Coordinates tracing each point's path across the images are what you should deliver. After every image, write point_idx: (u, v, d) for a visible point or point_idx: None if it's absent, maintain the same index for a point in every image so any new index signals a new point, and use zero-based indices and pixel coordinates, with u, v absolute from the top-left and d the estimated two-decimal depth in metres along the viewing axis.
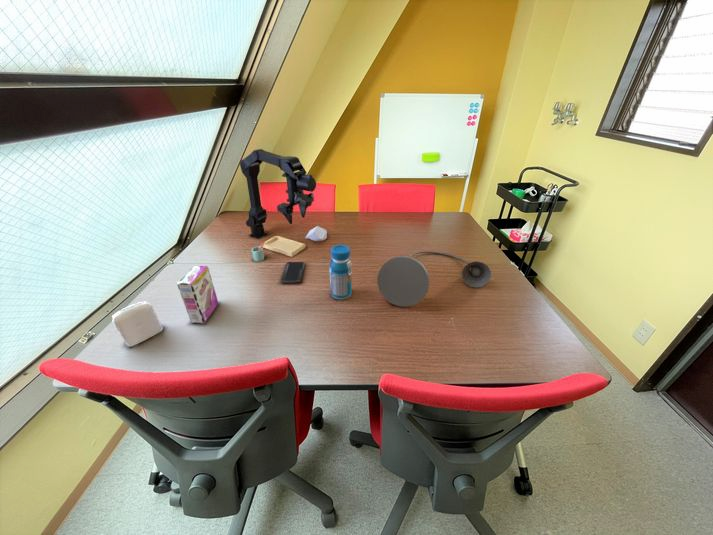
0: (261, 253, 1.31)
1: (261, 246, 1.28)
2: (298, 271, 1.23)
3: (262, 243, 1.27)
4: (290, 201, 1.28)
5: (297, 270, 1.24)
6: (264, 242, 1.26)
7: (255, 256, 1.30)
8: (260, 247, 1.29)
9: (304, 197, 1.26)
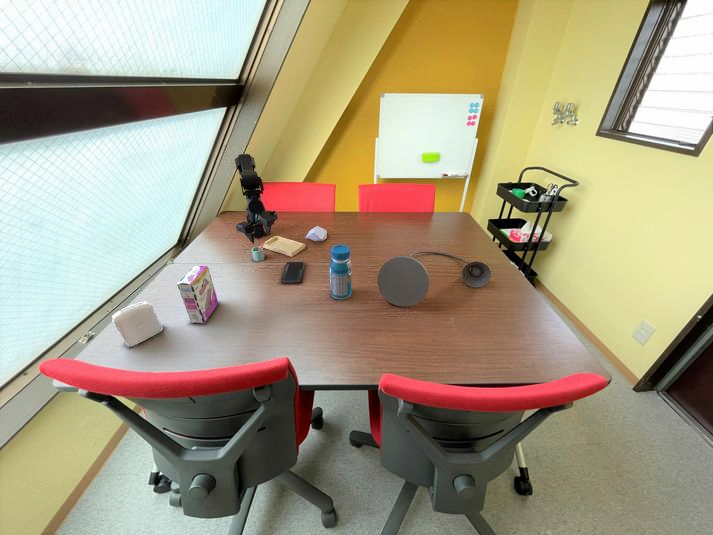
0: (261, 253, 1.31)
1: (261, 246, 1.28)
2: (298, 271, 1.23)
3: (262, 243, 1.27)
4: (251, 219, 1.19)
5: (297, 270, 1.24)
6: (264, 242, 1.26)
7: (255, 256, 1.30)
8: (260, 247, 1.29)
9: (265, 215, 1.18)
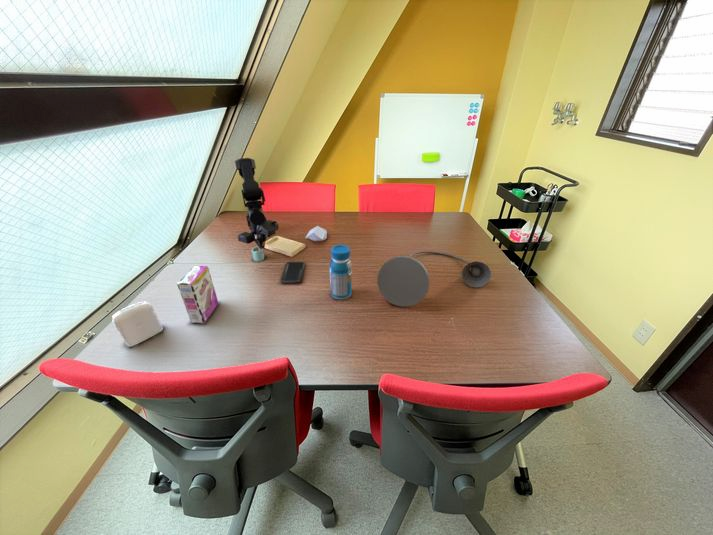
0: (261, 253, 1.31)
1: None
2: (298, 271, 1.23)
3: (262, 243, 1.27)
4: (253, 230, 1.22)
5: (297, 270, 1.24)
6: (264, 242, 1.27)
7: (255, 256, 1.30)
8: None
9: (267, 226, 1.20)
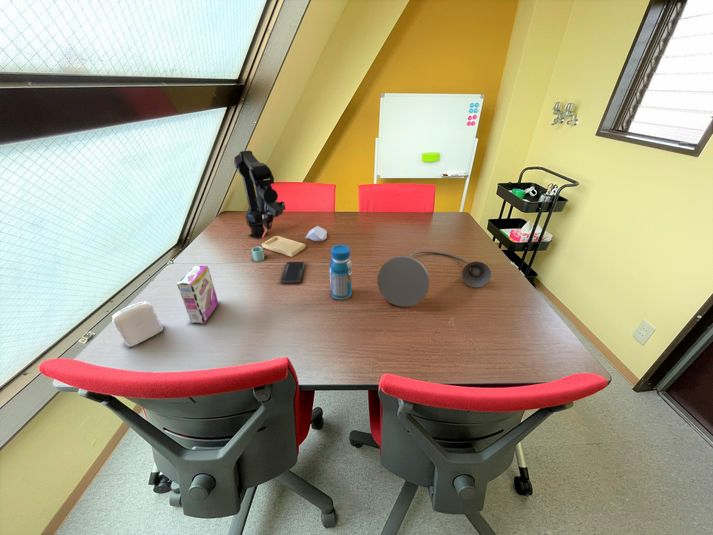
0: (261, 253, 1.31)
1: None
2: (298, 271, 1.23)
3: (269, 224, 1.29)
4: (260, 209, 1.24)
5: (297, 270, 1.24)
6: (271, 222, 1.28)
7: (255, 256, 1.30)
8: None
9: (274, 206, 1.22)
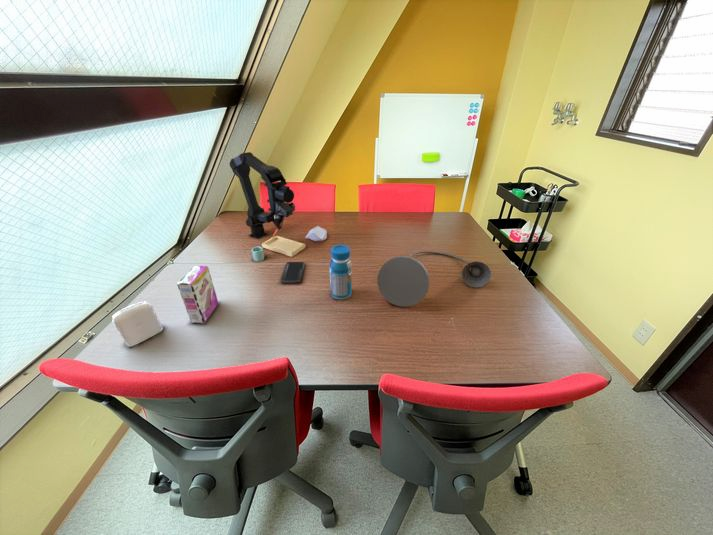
0: (261, 253, 1.31)
1: None
2: (298, 271, 1.23)
3: (280, 223, 1.36)
4: (271, 210, 1.31)
5: (297, 270, 1.24)
6: None
7: (255, 256, 1.30)
8: None
9: (285, 206, 1.29)
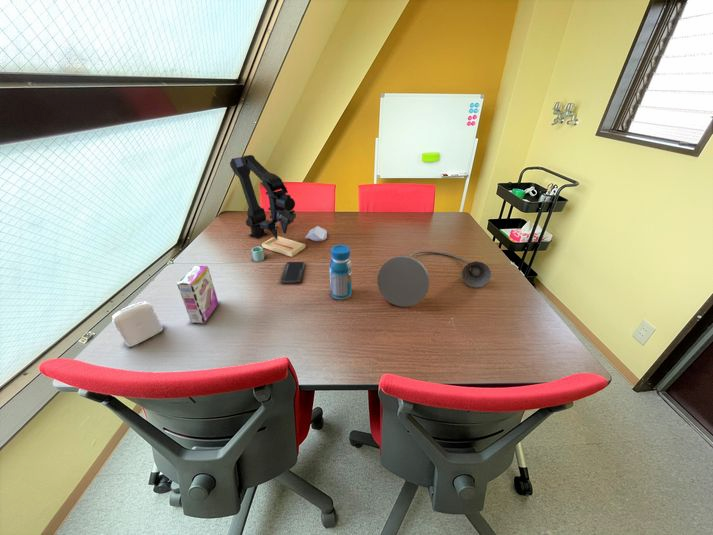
0: (261, 253, 1.31)
1: (287, 247, 1.41)
2: (298, 271, 1.23)
3: (290, 247, 1.40)
4: (273, 218, 1.33)
5: (297, 270, 1.24)
6: None
7: (255, 256, 1.30)
8: (286, 246, 1.42)
9: (286, 214, 1.31)
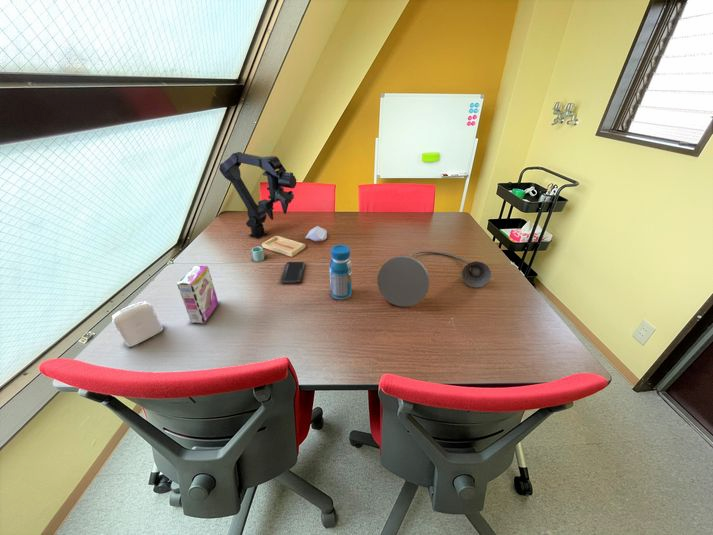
0: (261, 253, 1.31)
1: (288, 246, 1.41)
2: (298, 271, 1.23)
3: (291, 247, 1.41)
4: (271, 198, 1.36)
5: (297, 270, 1.24)
6: (293, 248, 1.41)
7: (255, 256, 1.30)
8: (286, 246, 1.42)
9: (284, 194, 1.34)
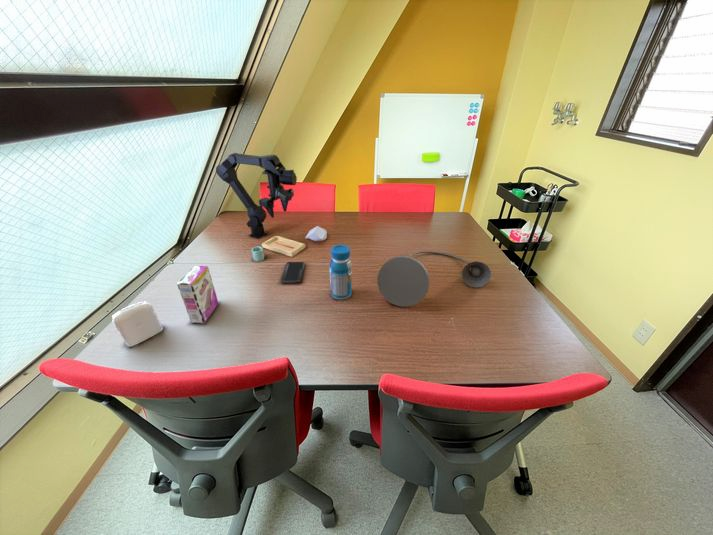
0: (261, 253, 1.31)
1: (288, 246, 1.41)
2: (298, 271, 1.23)
3: None
4: (271, 196, 1.38)
5: (297, 270, 1.24)
6: (293, 248, 1.41)
7: (255, 256, 1.30)
8: (287, 245, 1.42)
9: (284, 192, 1.36)
